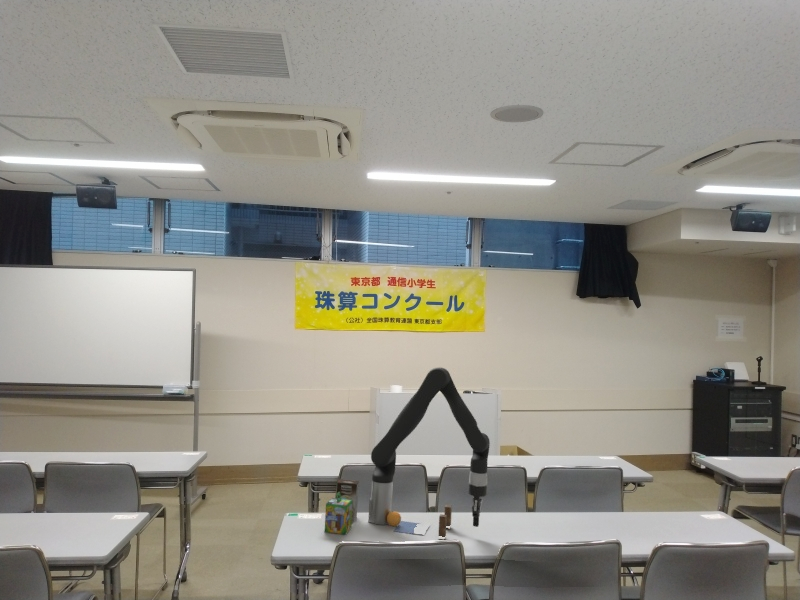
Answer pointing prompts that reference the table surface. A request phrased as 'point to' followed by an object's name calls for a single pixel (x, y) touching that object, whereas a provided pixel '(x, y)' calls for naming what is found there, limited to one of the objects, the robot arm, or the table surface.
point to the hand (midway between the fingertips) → (475, 525)
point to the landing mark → (405, 527)
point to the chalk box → (338, 515)
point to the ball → (394, 518)
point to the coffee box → (349, 493)
